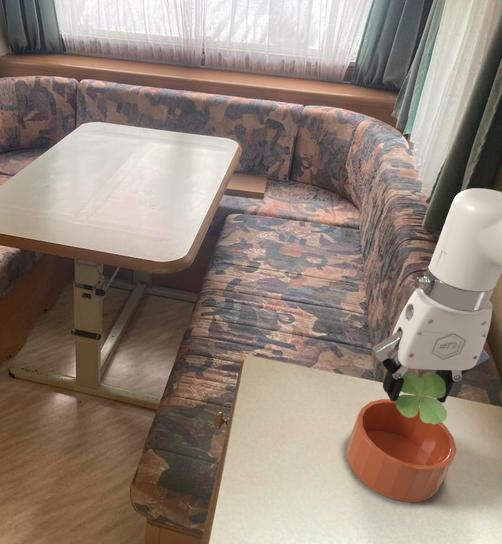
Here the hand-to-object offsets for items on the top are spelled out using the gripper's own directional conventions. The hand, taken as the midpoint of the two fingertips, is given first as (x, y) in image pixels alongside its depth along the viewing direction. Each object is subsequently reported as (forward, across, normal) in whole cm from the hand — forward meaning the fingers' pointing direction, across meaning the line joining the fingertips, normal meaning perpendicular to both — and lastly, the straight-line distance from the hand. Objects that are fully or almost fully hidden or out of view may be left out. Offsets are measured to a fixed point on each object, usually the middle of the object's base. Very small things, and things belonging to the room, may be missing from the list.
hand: (413, 394), depth 81 cm
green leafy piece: (+2, +1, -1) cm, 3 cm away
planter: (+14, +1, -1) cm, 14 cm away
